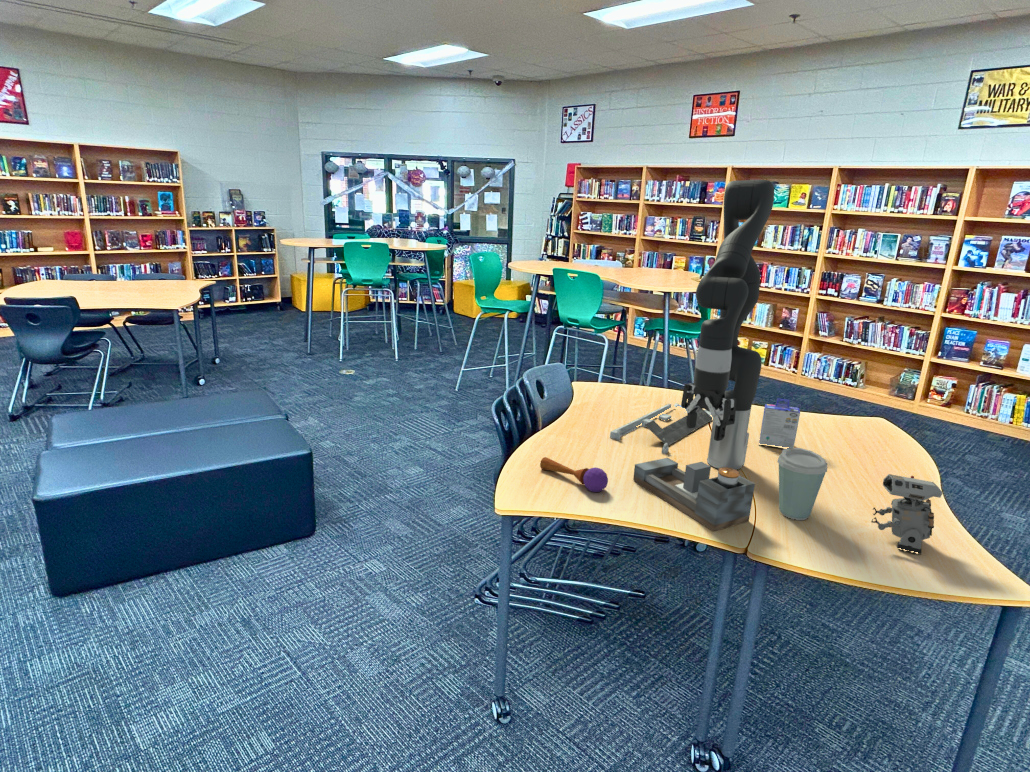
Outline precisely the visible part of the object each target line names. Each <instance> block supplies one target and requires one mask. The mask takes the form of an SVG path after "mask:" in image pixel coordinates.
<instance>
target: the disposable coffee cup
mask: <svg viewBox="0 0 1030 772" xmlns="http://www.w3.org/2000/svg"><path fill="white" fill-rule="evenodd" d="M781 450H782V451H781V453H780V454H779V456H778V459H777V461H776V463H778V506H779V507H778V509H779V513H780V512H781V513H782V514H783V515H784V516H783V515H782V514H781V513H780V514H781V515H782V516H783V517H785V516H786V517H785V518H787V517H788V519H789V518H791V519H790V520H794V519H796V520H795V521H806V520H808V519H809V517H811V514H812V511H813V508H814V505H815V503H816V500H817V497H818V495H819V491H820V489H821V486H822V483H823V481H824V477H825V475H826V473H827V472H828V463H827V461H826V459H824V458H823V457H822V455H821V454H819V453H816V452H814V451H812V450H808V449H806V448H800V447H794V448H787V449H781ZM807 518H808V519H807Z"/></svg>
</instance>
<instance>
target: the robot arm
mask: <svg viewBox="0 0 1030 772" xmlns="http://www.w3.org/2000/svg"><path fill="white" fill-rule="evenodd" d="M723 194H724V195H723V241H722V242H721V243H720V246H719V248H718V251H717V255H716V257H715V260H714V263H713V264H712V266H711V267H710V268H709V269H708V270H707V272H706V273H705V274H704V275H703V277H702V278H701V279H700V281H699V282H698V285H697V287H696V291H695V300H696V302H697V304H698V305H699V306H700V307H702V308H705V309H711V310H720V311H719V312H720V313H719V318H710V319H707V320H706V319H705V320H704V321H703V322H702V323H701V326H700V333H699V340H698V341H699V343H698V348H697V352H696V357H695V365H694V367H695V368H694V376H693V382H691V383H687V384H686V383H685V384H684V385H683V390H682V391H683V392H682V396H681V397H682V398H681V404H680V405H681V407H682V408H685V409H686V411H687V413H686V414H687V415H686V416H687V422H686V423H687V428H690V429H691V428H695V427H696V420H697V413H696V411H697V410H698V409H699V408H702V409H703V410H707V411H709V412H710V413H711V415H712V417H713V420H712V423H711V424H712V425H711V431H710V432H711V433H710V437H709V446H708V453H707V465H709V466H711V467H714V468H715V469H718V470H719V469H720V468H723V467H727V468H732V469H735V470H737V469H739V470H740V469H741V468H742V467H743V466H745V462H746V457H747V451H748V444H749V437H750V433H749V432H748V429H749V423H750V417H751V410H752V405H753V402H754V400H755V397H756V394H757V388H758V384H759V381H760V380H759V379H760V376H761V371H762V356H761V354H760V353H759V352H758V351H756V350H754V349H749V348H746V347H740V346H739V341H738V339H739V335H740V334H739V332H740V330H741V326H742V325H743V324H744V322H745V320H746V319H747V318H748V316H749V315H750V314H751V313H752V311H753V309H754V308H755V306H756V304H757V303H758V301H759V296H760V286H761V285H760V284H761V272H760V268H759V266H758V265H757V263H756V261H755V259H754V257H753V256H752V252H753V250H754V247H755V245H756V243H757V241H758V239H759V237H760V235H761V234H762V231H763V230H764V228H765V226H766V224H767V222H768V220H769V217H770V215H771V213H772V210H773V206H774V201H775V188H774V184H773V182H771V180H767V179H747V180H745V179H744V180H732V181H729V182H728V183H727V185H726V187H725V191H724V193H723ZM744 220H745V221H744ZM740 221H744V222H743V223H742V224H741V225H740ZM729 381H731V382H734V385H733V390H727V389H728V387H729ZM742 465H743V466H742ZM737 471H738V470H737Z"/></svg>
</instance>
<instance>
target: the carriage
mask: <svg viewBox="0 0 1030 772" xmlns="http://www.w3.org/2000/svg"><path fill="white" fill-rule="evenodd" d="M711 469H712V466H711V465H710V464H708V463H705V462H703V461H699V462H694V463H693V462H692V463H689V464H685V469H684V470H685V471H684V472H685V477H684V483H682V484H678V485H675V488H676V489H678V490H679V491H681V492H683V493H684V494H686V495H688V496H689V497H691V498H693V499H694V500H696V501H697V495H698V488H699V481H702V480H706V479H710V475H711Z"/></svg>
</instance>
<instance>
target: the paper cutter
mask: <svg viewBox="0 0 1030 772" xmlns="http://www.w3.org/2000/svg"><path fill="white" fill-rule="evenodd" d="M673 406H675V407H677V406H680V407H681V404H680V403H677V402H675V403H674V405H673ZM669 408H672V403H667V404H666V405H664V406H661V407H659V408H657V409H655V410H653V411H651V412H649V413H647V414H644V415H642V416H640V417H638V418H636V419H634V420H632V421H630V422H628V423H626V424H623V425H621V426H620V427H617V428H615V429H613V430H611V431H610V433H609V438H610V439H614V440H616V441H620V440H621V437H623V436H625V435H627V434H629V433H631V432H633V431H636V430H637V429H638V428H637V427H636V426H638V425H640V424H641V423H642V426H640V427H639V428H641V427H643V428H646V427H647V428H646V429H648V430H649V431H650V432H651V433H652V434H653V435H655V437H657V438H658V440H660V441H661V442H662V444H663V446H662V448H661V454H664V455H666V454H667V453H669V449H670V445H672V444H674V443H675V442H677V441H678V440H680V439H682V438H684V437H685V436H687V435H689V434H691V433H692V432H694V431H696V430H697V429H699V428H701V427H702V426H704V425H706V424H707V423H709V422H712V421H713V420H712V417H711V416H710V415H711V413H710V412H709V411H707V410H705V409H702V408H699V409H698V410H697V411H696V413H697V420H696V427H695V428H691V429H690V428H687V423H686V422H687V415H685V416H683V417H682V418H680V419H677V420H675V421H674V422H672V423H670V424H668V425H667V426H664V427H661V426H660V424H658V423H657V422H656V420H650V419H651V418H653V417H655V416H657V415H658V414H660V413H662V412H664V411H665V410H667V409H669ZM670 418H671V419H672V415H670V414H668V413H667V414H662V415H660V416H659V418H658V420H659V419H662V420H665V421H667V420H668V419H670ZM671 419H670V420H671ZM665 421H664V422H665ZM667 422H668V421H667Z"/></svg>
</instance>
